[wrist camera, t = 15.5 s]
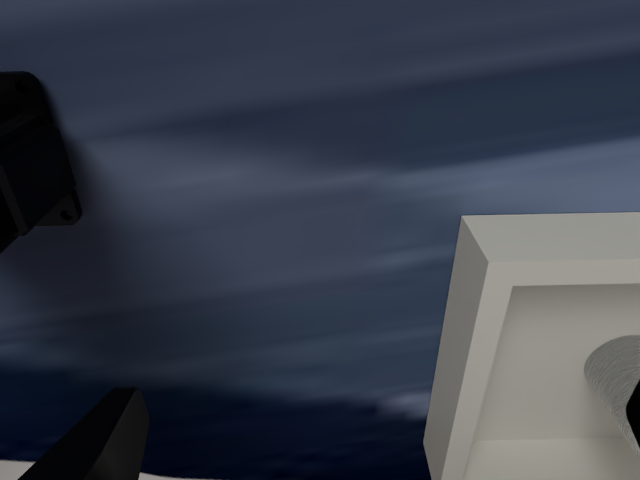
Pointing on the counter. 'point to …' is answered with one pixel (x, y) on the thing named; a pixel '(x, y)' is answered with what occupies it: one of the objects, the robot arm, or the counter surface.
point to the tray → (533, 348)
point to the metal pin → (616, 378)
